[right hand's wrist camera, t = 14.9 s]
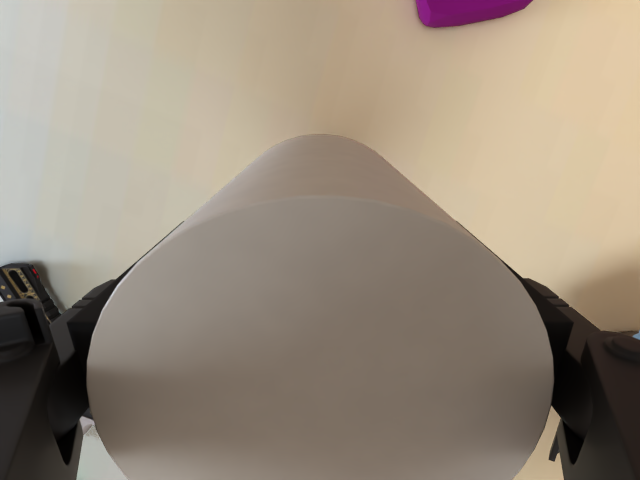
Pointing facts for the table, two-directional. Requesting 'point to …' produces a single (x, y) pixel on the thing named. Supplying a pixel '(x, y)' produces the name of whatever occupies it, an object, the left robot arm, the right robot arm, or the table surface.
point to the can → (320, 336)
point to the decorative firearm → (27, 284)
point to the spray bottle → (465, 11)
